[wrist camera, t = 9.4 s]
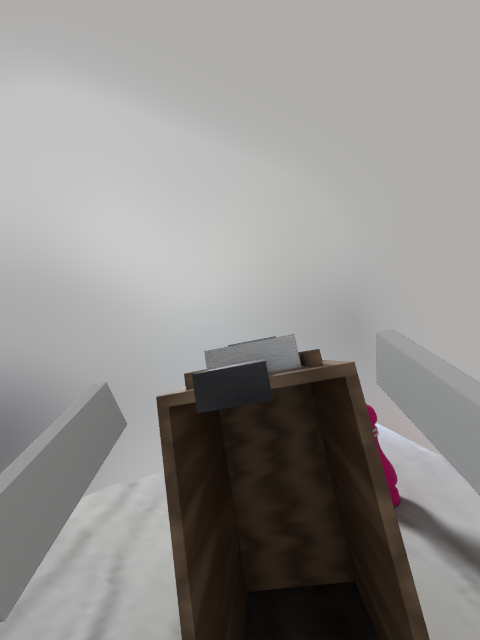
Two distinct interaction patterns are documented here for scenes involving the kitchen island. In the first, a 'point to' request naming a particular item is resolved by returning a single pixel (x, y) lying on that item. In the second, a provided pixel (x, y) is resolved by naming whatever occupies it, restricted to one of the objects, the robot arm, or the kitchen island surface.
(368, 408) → the pepper mill
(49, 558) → the kitchen island surface
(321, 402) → the stand
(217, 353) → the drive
